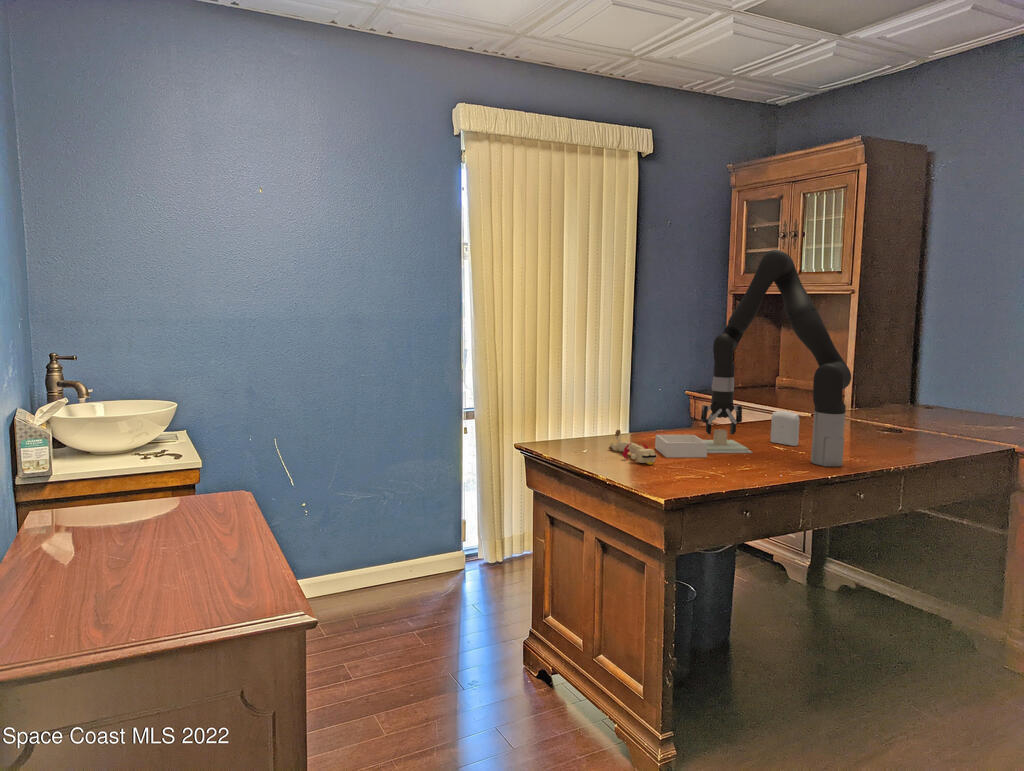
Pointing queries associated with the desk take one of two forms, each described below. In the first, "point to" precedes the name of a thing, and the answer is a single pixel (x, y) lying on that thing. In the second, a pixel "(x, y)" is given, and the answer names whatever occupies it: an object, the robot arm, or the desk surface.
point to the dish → (681, 446)
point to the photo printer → (785, 428)
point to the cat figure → (634, 450)
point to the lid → (723, 442)
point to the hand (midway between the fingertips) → (720, 434)
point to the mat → (729, 451)
